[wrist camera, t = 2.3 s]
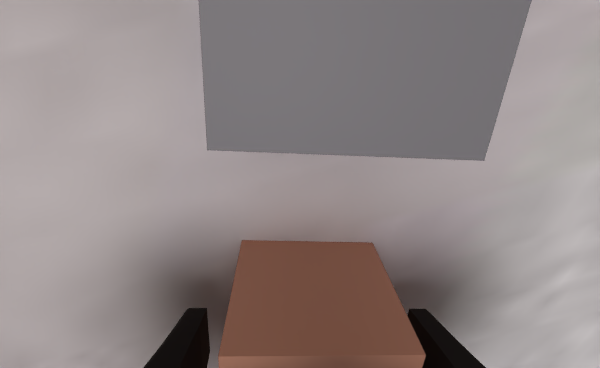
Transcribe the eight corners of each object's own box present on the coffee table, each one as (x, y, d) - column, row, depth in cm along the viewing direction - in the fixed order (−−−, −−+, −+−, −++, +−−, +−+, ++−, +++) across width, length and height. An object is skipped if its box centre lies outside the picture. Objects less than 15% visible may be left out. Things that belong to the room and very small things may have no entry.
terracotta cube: (355, 336, 14) (391, 471, 10) (243, 336, 14) (224, 477, 9) (371, 241, 12) (425, 355, 8) (242, 239, 12) (218, 356, 7)
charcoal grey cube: (394, 112, 10) (483, 160, 6) (240, 104, 10) (206, 150, 5) (426, -77, 9) (597, -225, 4) (237, -95, 8) (183, -283, 4)
